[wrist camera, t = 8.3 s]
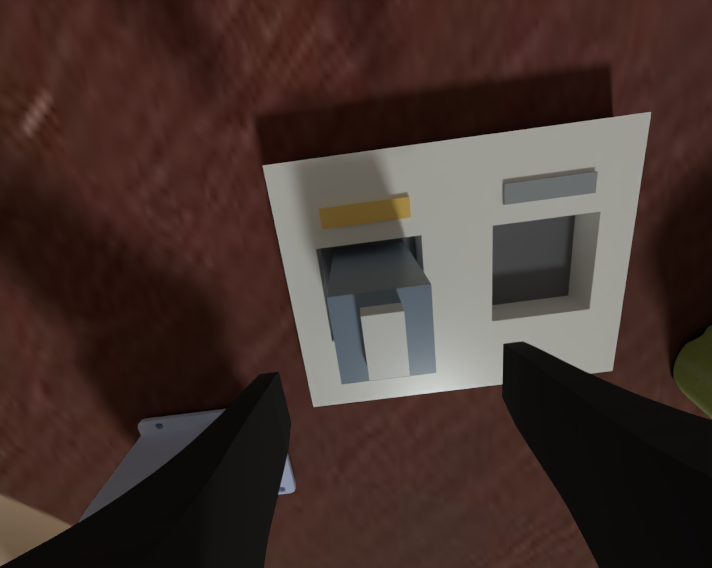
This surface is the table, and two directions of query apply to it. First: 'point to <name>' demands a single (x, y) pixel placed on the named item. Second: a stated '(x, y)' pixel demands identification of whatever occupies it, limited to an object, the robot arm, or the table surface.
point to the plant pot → (696, 371)
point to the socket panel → (472, 244)
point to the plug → (380, 313)
